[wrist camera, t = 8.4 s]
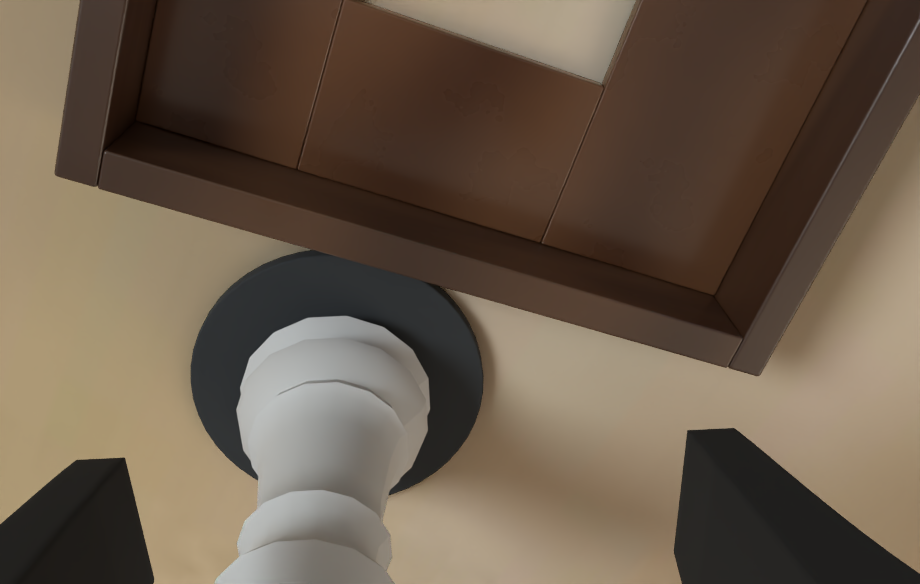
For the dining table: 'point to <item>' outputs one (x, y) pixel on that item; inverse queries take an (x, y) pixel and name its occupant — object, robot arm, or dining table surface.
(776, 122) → the tray
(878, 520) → the dining table surface
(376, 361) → the rook chess piece
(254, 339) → the coaster
